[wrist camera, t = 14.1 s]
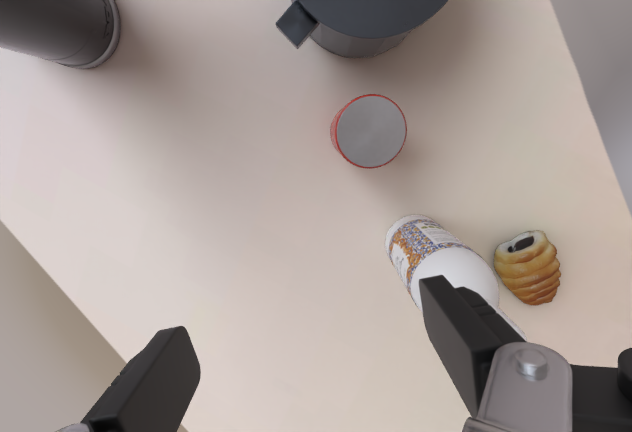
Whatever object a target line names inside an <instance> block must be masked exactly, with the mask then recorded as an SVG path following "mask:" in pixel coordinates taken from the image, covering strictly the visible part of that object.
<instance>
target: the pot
mask: <svg viewBox="0 0 632 432" xmlns="http://www.w3.org/2000/svg"><path fill="white" fill-rule="evenodd" d="M291 1H292V5H291V6H290V7H289V8H288V9H287V11H286V12H285V13H284V14H283V15H282V16H281V18H280V19H279V20H278V21H277V22H276V27H277V28H278V29H279V30H280V32H281V33H282V34H283V35H284V36H285V37H286V38H287V39H288V40H289V41H290V42H291V43H292V44H293V45H294V46H295V47H296V48H297V49H298V48H299V47H300V46H301V45H302V44H303V43H304V41H305V40H306V39H307V38H308V37H309V36H310V37H311V38H312V39H313V40H314V41H316V42H317V43H318V44H319V45H320V46H321V47H323V48H325V49H326V50H328V51H330V52H332V53H334V54H337V55H340V56H344V57H349V58H365V57H373V56H375V55H378V54H380V53H383V52H385V51H387V50H389V49H390V48H392V47H395V46H397V45H398V44H399V43H400V42H401V41H402V40H403V39H404V38H405V37H406V35H407V34H408V33H409V32H410V31H409V32H406V33H404V34H401V35H399V36H396V37H391V38H387V39H380V40H360V39H355V38H350V37H346V36H343V35H341V34H338V33H335V32H333V31H332V30H330V29H328V28H326V27H324V26H323V25H321V24H320V23H319V22H317V21H316V20H315V19H313V18H312V17H311V16H310V15H309V14H308V13H307V12H306V11H305V10H304V9H303V7H302V6H301V5H300V4H299V2H298V1H297V0H291Z"/></svg>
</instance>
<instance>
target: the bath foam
mask: <svg viewBox="0 0 632 432" xmlns="http://www.w3.org/2000/svg"><path fill="white" fill-rule="evenodd" d="M385 247H386V251H387V254H388V256H389V258H390V260H391V262H392V264H393V265H394V267H395V269H396V271H397V272H398V274H399V276H400V278H401V279H402V281H403V283H404V285H405V286H406V288H407V290H408V292H409V293H410V295H411V297H412V299H413V301H414V302H415V304H416V305H417V307H418V308H419V309H420V310H421V311H422V312H423V310H422V303H421V297H420V290H419V279H422V278H427V277H432V276H437V275H443V276H444V277H445V278H446V279H447V280H448V281H449V282H450V283H451V285H452V286H453V287H454V288H458V287H463V286H464V287H466V288H468V289H470V290H473V291H475V292H477V293H479V294H480V295H481V296H482V297H483V298H484V299H485V300H486V301H487V302H488V305H491V306H492V307H493V308H494V309H495V310H496V313H499V314H500V315H501V316H502V317H503V318H504V319H505V321H506V322H507V323H508V324H509V325H510V326H511V327H512V328H513V329H514V330H515V331H516V332H517V333H518V334H519V335H520V336H521V337H522V338H523V339H524V340H525V341H526V342H527V338H526V336H525V334H524V333H523V331H522V330H521V329H520V328H519V327H518V326H517V325H516V324H515V323H514V322H513V321H512V320H511V319H510V318H509V317H508V316H507V315H506V314H505V313H503V312H502V311H501V310H500V309H499V308H498V306H499V288H498V283H497V280H496V278H495V275H494V274H493V272H492V270H491V269H490V267H489V266H488V264H487V263H486V262H485V261H484V260H483V259H482V258H481V257H480V256H479V255H478V254H477V253H475V252H474V251H473V250H471V249H470V248H469V247H468V246H466V245H465V244H464V243H462V242H461V241H460V240H458V239H457V238H456V237H455V236H453V235H452V234H451V233H449V232H448V231H447V230H445V229H444V228H443V227H442V226H440V225H439V224H437V223H436V222H435V221H433V220H432V219H430V218H428V217H426V216H422V215H409V216H406V217H403V218H401V219H399V220H398V221H397V222H395V223H394V224H393V225H392V227H391V228H390V229H389V231H388V233H387V236H386V241H385Z"/></svg>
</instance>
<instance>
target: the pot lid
mask: <svg viewBox="0 0 632 432" xmlns="http://www.w3.org/2000/svg"><path fill="white" fill-rule="evenodd" d="M297 1H298V2H299V4H300V5H301V6H302V7H303V9H304V10H305V11H306V12H307V13H308V14H309V15H310V16H311V17H312V18H313V19H315V20H316V21H317V22H319V23H320V24H321V25H323V26H324V27H326V28H328V29H330V30H332V31H333V32H335V33H338V34H341V35H343V36H346V37H350V38H355V39H360V40H380V39H387V38H391V37H396V36H399V35H401V34H404V33H406V32H409V31H411V30H413V29H414V28H416V27H418V26H420V25H421V24H423V23H424V22H426V21H427V20H428V19H430V18H431V17H432V16H433V15H434V14H435V13H436V12H438V11H439V10H440V9H441V8H442V7H443V6H444V5H445V3H446V2H447V1H448V0H297Z"/></svg>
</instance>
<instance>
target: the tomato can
mask: <svg viewBox="0 0 632 432" xmlns="http://www.w3.org/2000/svg"><path fill="white" fill-rule="evenodd" d="M406 133H407V127H406V120H405V117H404V115H403V113H402V111H401V109H400V108H399V107H398V106H397V104H396V103H394V102H393V101H392V100H390V99H389V98H387V97H384V96H381V95H376V94H369V95H363V96H360V97H358V98H355V99H354V100H352V101H351V102H349V103H348V104H347V105H346V106H345V107H344V108H342V109H341V110H340V111H339V112H338V113H337V114H336V116H335V117H334V119H333V121H332V124H331V129H330V135H331V140H332V143H333V145H334V147H335V148H336V150H337V151H338V152H339V153H340V154H341V155H342V156H343V157H344V158H345V159H346V160H347V161H349V162H350V163H351V164H353V165H355V166H358V167H361V168H377V167H381V166H383V165H385V164H387V163H389V162H390V161H392V160H393V159H394V158H395V157H396V156H397V155H398V154H399V152H400V151H401V149H402V147H403V145H404V142H405V139H406Z"/></svg>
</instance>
